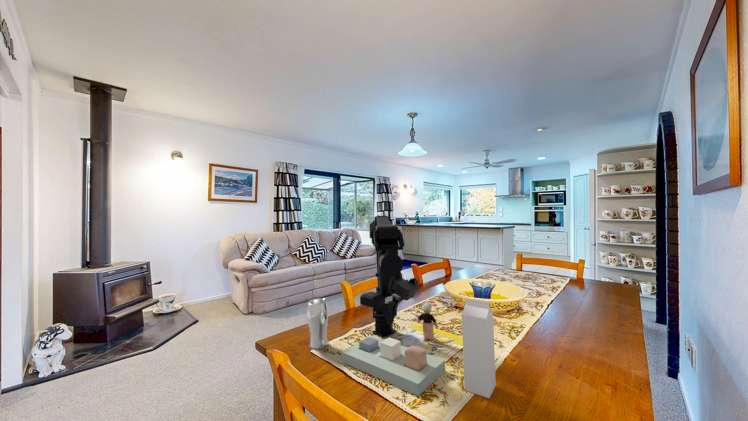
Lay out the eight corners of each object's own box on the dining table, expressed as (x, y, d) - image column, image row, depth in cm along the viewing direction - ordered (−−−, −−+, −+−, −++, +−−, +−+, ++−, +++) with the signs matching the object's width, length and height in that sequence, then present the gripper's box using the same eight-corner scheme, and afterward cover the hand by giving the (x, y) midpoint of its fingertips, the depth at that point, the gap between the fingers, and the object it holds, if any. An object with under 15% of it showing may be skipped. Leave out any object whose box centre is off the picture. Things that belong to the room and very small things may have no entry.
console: (371, 344, 98) (371, 335, 98) (445, 370, 81) (444, 359, 81) (341, 361, 88) (341, 351, 88) (418, 396, 70) (418, 383, 70)
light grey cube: (389, 352, 87) (389, 337, 87) (401, 356, 84) (400, 341, 84) (380, 358, 84) (380, 342, 84) (392, 362, 81) (391, 346, 81)
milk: (472, 378, 77) (468, 295, 77) (496, 386, 73) (492, 298, 73) (464, 390, 72) (460, 301, 72) (489, 399, 68) (485, 305, 68)
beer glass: (324, 350, 95) (323, 304, 95) (305, 349, 97) (303, 304, 97) (332, 341, 102) (330, 298, 102) (313, 339, 103) (311, 297, 103)
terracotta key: (413, 361, 82) (413, 345, 82) (426, 365, 79) (426, 349, 79) (405, 367, 78) (404, 351, 78) (418, 372, 76) (417, 355, 76)
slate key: (368, 350, 93) (368, 336, 93) (378, 354, 90) (378, 340, 90) (359, 356, 89) (359, 341, 90) (369, 360, 87) (369, 345, 87)
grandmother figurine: (440, 339, 100) (439, 302, 100) (437, 344, 97) (436, 306, 97) (418, 336, 104) (417, 300, 104) (415, 340, 100) (414, 303, 100)
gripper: (389, 278, 71) (391, 342, 71) (429, 266, 85) (432, 320, 85) (357, 273, 79) (359, 331, 79) (399, 263, 93) (401, 313, 92)
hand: (390, 323), depth 83 cm, fingers closed
